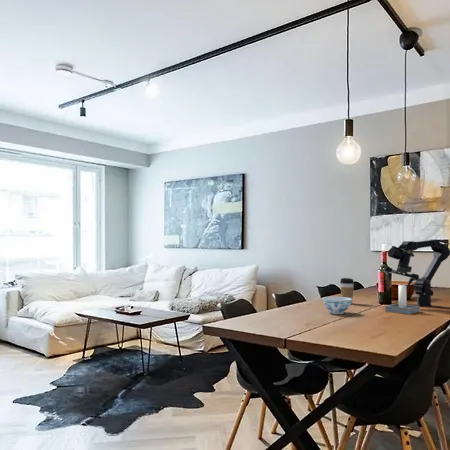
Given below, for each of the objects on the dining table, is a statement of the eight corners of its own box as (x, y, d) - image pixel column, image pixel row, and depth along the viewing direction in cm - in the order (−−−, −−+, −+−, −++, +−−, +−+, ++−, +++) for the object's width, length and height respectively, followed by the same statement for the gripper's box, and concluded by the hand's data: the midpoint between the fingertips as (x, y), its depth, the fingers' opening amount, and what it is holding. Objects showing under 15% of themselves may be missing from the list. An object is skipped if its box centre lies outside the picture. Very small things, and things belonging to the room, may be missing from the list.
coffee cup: (352, 302, 277) (352, 278, 277) (355, 304, 269) (355, 279, 269) (339, 302, 278) (338, 278, 278) (341, 304, 269) (341, 279, 270)
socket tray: (395, 308, 252) (395, 303, 252) (419, 311, 243) (419, 306, 243) (385, 311, 242) (385, 306, 243) (409, 314, 233) (409, 308, 233)
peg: (401, 310, 245) (401, 285, 246) (408, 311, 242) (407, 285, 242) (397, 311, 243) (396, 285, 244) (403, 312, 240) (403, 286, 240)
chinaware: (355, 315, 230) (355, 300, 230) (326, 315, 230) (326, 300, 230) (347, 310, 245) (347, 296, 245) (319, 310, 245) (319, 296, 245)
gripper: (388, 256, 256) (381, 282, 254) (422, 264, 250) (416, 291, 248) (387, 258, 267) (380, 284, 265) (420, 266, 261) (414, 292, 259)
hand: (397, 287), depth 259 cm, fingers open, 9 cm apart
